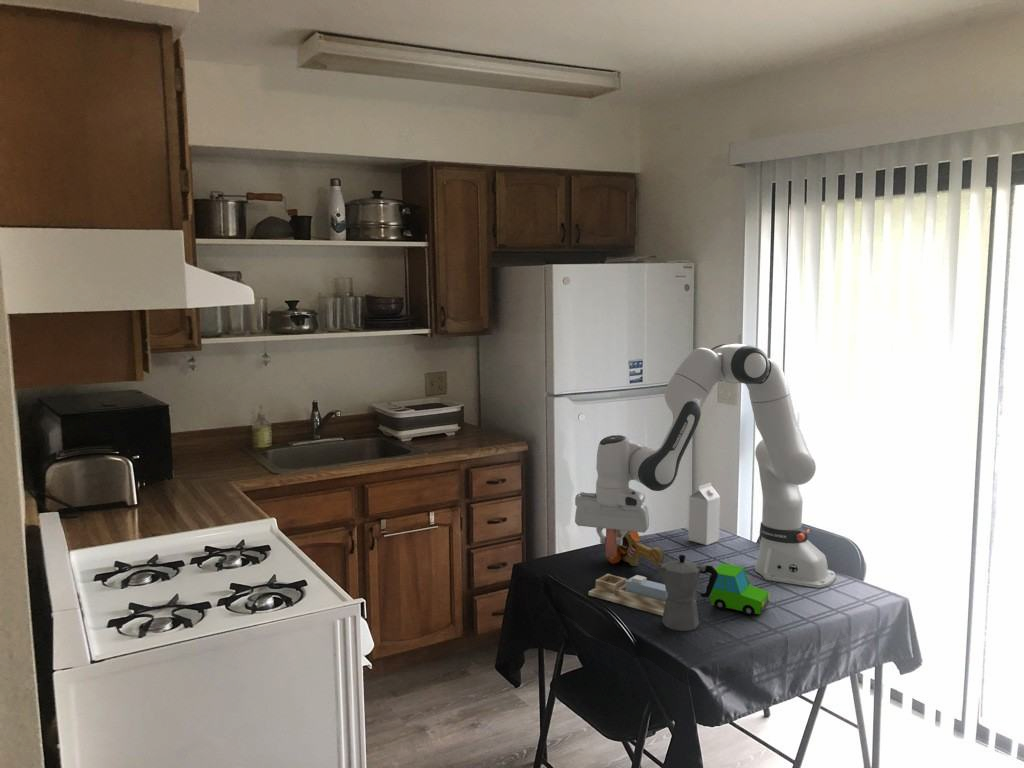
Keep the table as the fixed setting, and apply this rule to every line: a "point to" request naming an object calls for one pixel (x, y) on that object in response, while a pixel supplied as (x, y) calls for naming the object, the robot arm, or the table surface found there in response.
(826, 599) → the table surface
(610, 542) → the tail peg
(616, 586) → the jig
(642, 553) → the toy helicopter
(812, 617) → the table surface
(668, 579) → the coffeepot
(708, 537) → the milk carton
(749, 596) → the toy car
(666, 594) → the blue slab with cube
